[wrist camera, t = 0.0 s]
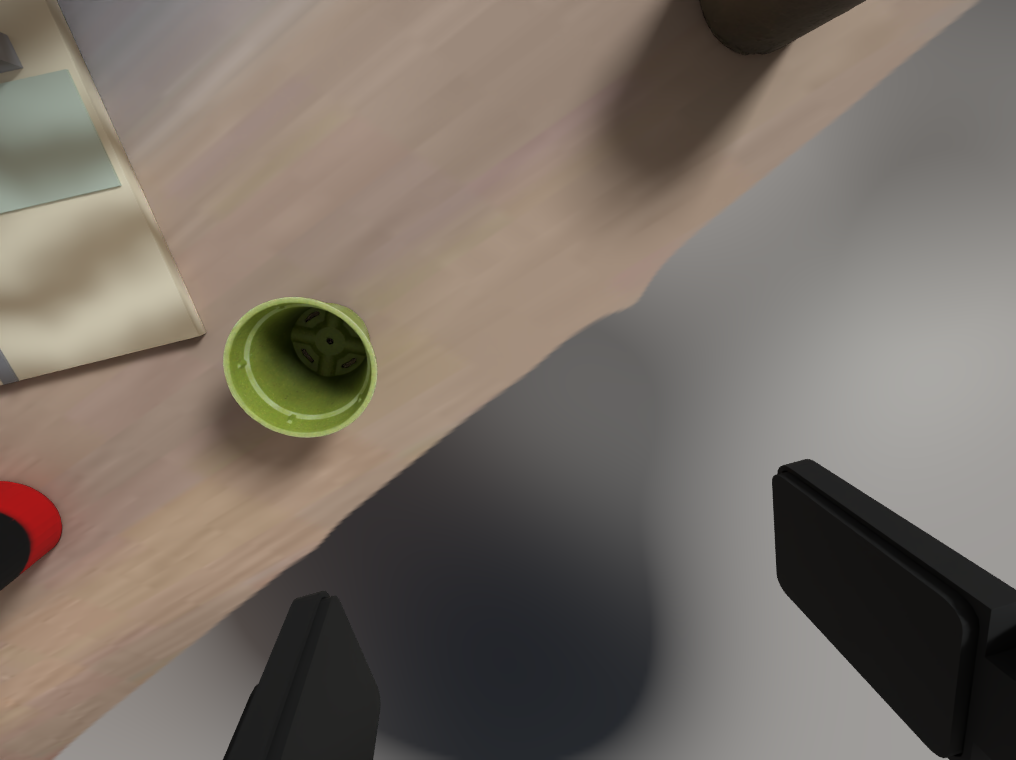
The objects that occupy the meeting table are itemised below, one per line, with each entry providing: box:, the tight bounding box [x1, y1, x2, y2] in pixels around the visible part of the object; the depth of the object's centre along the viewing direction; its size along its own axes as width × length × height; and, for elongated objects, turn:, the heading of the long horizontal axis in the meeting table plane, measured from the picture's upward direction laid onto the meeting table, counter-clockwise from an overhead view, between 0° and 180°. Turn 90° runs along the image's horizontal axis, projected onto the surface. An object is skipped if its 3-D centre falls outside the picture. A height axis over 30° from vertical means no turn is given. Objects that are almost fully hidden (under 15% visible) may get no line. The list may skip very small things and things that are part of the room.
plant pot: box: [223, 297, 377, 438], centre depth 34 cm, size 9×9×9 cm
